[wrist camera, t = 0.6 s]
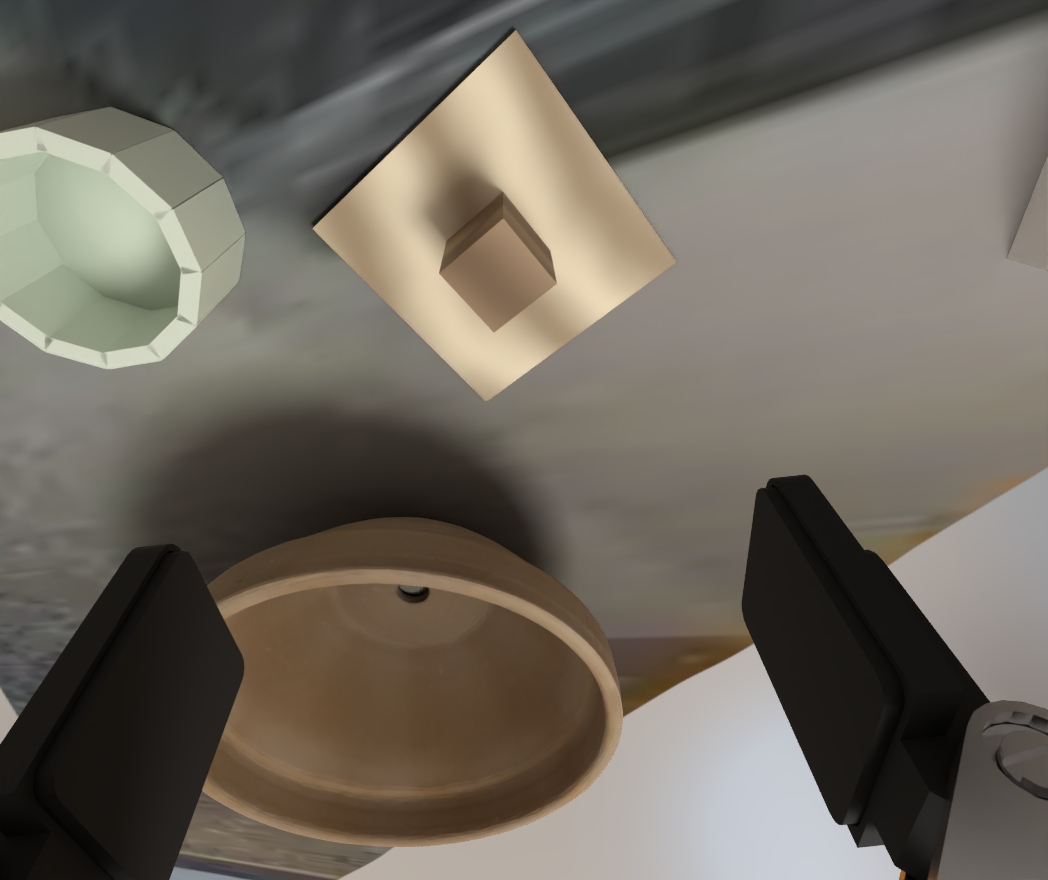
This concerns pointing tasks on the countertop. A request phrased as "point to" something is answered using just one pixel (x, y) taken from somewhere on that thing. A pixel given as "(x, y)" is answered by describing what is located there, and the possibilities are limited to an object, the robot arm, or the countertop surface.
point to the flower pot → (409, 687)
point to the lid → (497, 225)
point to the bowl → (111, 237)
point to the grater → (1034, 228)
